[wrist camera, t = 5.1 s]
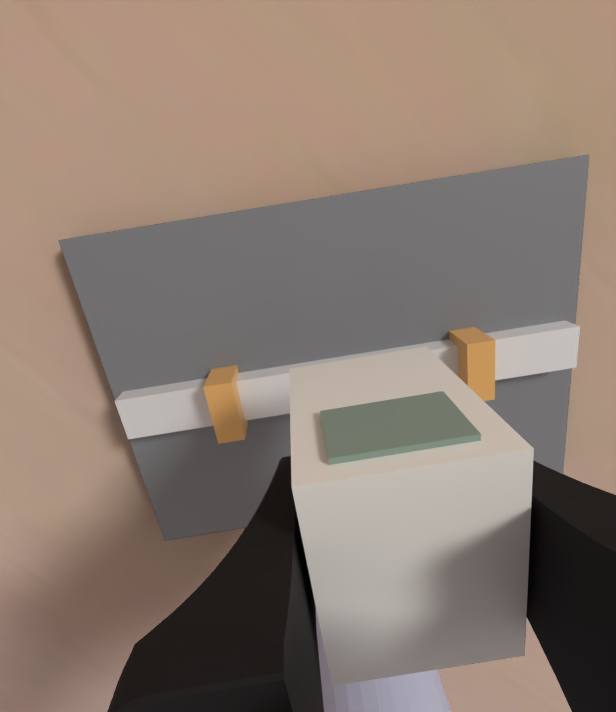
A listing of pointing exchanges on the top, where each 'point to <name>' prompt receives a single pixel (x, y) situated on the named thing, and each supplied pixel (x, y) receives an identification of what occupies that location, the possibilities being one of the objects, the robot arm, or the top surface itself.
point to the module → (409, 515)
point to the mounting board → (330, 319)
